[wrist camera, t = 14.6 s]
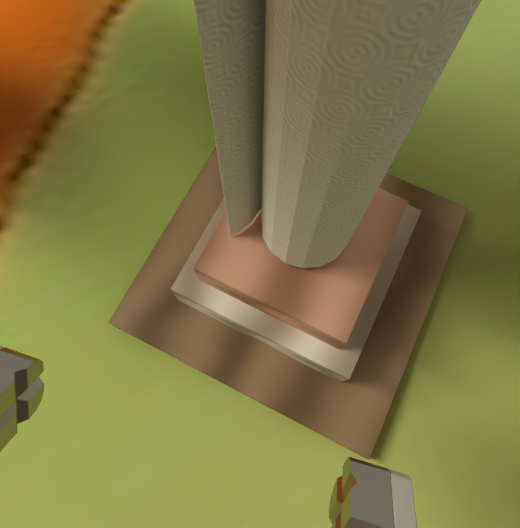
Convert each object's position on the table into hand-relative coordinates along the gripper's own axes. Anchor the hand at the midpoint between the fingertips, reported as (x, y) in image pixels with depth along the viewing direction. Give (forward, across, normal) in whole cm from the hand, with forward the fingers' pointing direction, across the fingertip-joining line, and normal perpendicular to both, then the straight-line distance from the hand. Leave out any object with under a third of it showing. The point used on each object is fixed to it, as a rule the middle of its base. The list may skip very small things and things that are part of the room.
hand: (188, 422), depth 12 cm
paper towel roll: (+21, -1, +2) cm, 21 cm away
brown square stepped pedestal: (+26, -2, +8) cm, 27 cm away
